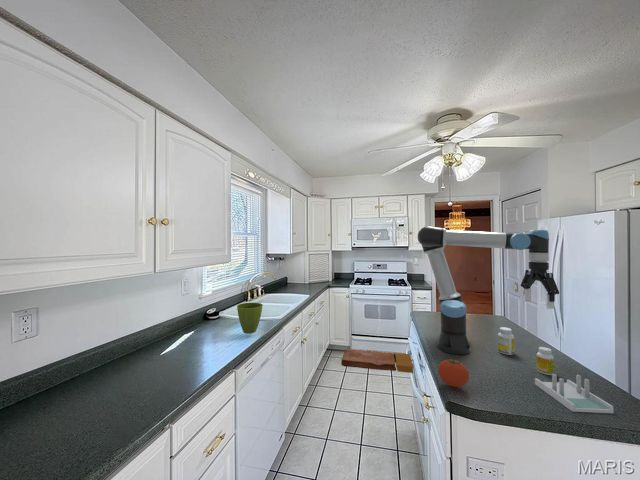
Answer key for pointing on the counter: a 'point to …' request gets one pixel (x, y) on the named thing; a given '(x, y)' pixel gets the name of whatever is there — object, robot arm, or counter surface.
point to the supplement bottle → (545, 361)
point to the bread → (377, 360)
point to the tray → (574, 395)
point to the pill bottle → (506, 341)
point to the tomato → (453, 373)
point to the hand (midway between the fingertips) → (538, 304)
